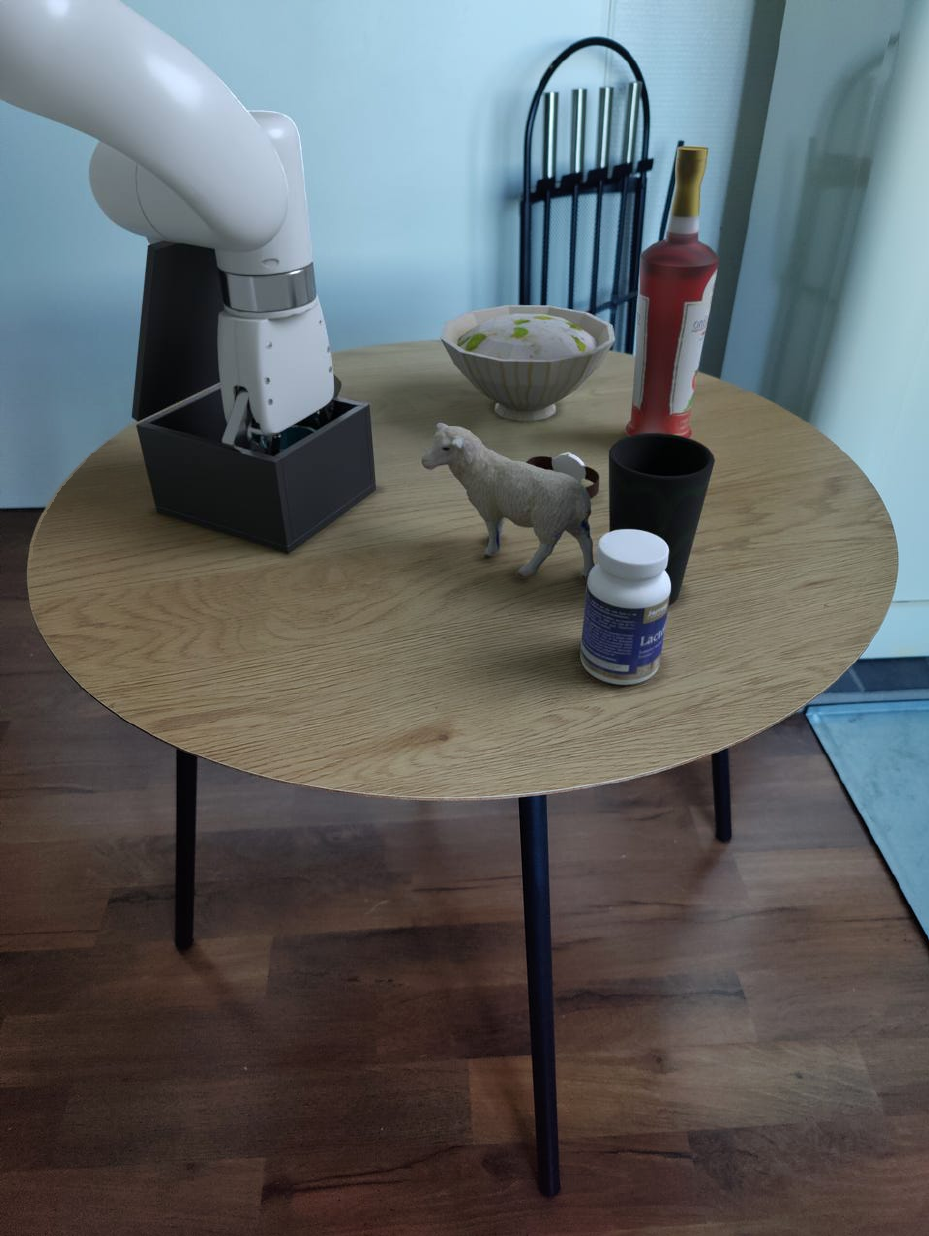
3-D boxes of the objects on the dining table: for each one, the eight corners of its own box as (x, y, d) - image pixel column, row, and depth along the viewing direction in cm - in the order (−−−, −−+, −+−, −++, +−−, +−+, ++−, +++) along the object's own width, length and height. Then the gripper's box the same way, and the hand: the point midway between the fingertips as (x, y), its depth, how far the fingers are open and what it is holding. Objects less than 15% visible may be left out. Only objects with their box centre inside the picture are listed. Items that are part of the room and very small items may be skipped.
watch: (607, 491, 87) (610, 456, 85) (585, 511, 84) (587, 476, 82) (537, 472, 91) (538, 438, 89) (513, 491, 88) (514, 456, 86)
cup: (650, 629, 69) (669, 488, 62) (577, 588, 74) (587, 453, 67) (712, 591, 73) (736, 455, 66) (638, 554, 78) (653, 423, 71)
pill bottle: (651, 695, 63) (668, 575, 57) (571, 678, 65) (580, 559, 59) (665, 648, 67) (683, 531, 61) (590, 632, 69) (600, 517, 63)
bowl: (407, 406, 105) (402, 319, 99) (527, 365, 115) (529, 284, 109) (523, 461, 93) (525, 366, 87) (645, 410, 103) (655, 322, 97)
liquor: (633, 423, 100) (663, 139, 84) (699, 434, 98) (743, 144, 81) (613, 449, 95) (640, 151, 79) (682, 462, 92) (725, 156, 76)
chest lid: (271, 214, 78) (227, 184, 78) (155, 250, 68) (105, 216, 69) (241, 372, 89) (202, 345, 90) (137, 422, 80) (95, 391, 80)
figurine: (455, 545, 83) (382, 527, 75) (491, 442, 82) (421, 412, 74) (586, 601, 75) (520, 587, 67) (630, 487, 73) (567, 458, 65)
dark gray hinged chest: (376, 489, 88) (369, 403, 83) (288, 554, 79) (274, 461, 73) (251, 456, 95) (238, 374, 89) (156, 512, 85) (135, 424, 80)
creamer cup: (271, 511, 81) (263, 455, 78) (263, 484, 86) (255, 429, 82) (331, 502, 83) (325, 446, 79) (320, 475, 87) (314, 421, 84)
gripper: (297, 256, 81) (319, 444, 91) (157, 309, 69) (200, 518, 79) (367, 266, 78) (381, 460, 88) (232, 324, 66) (267, 539, 76)
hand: (295, 485), depth 84 cm, fingers closed on creamer cup, 5 cm apart
